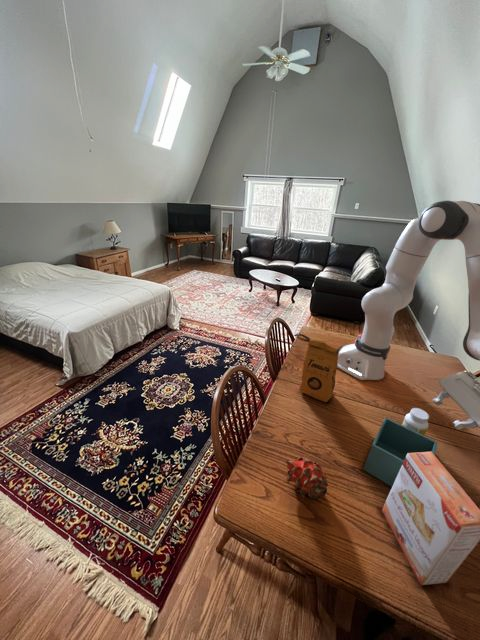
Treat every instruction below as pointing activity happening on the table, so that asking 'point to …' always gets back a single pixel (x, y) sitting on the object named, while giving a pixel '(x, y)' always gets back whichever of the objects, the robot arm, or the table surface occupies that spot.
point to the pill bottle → (416, 421)
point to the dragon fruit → (307, 477)
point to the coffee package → (319, 370)
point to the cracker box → (431, 518)
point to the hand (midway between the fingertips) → (444, 414)
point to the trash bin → (394, 450)
